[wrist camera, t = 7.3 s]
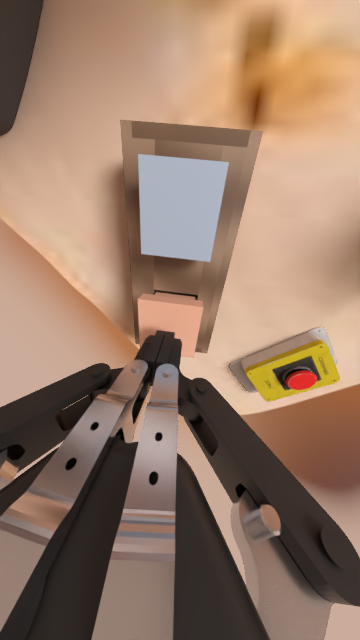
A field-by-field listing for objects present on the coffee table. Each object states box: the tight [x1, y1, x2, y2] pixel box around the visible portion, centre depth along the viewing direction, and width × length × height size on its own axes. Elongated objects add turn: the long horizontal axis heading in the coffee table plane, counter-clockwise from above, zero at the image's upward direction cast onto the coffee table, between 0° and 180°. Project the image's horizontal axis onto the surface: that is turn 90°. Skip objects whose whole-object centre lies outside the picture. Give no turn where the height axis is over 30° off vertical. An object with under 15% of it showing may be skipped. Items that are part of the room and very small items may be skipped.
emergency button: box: [229, 327, 340, 402], centre depth 22 cm, size 9×4×15 cm
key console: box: [120, 120, 263, 353], centre depth 16 cm, size 20×10×4 cm, turn 174°
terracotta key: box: [138, 292, 203, 358], centre depth 15 cm, size 6×6×4 cm
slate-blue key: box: [138, 154, 229, 262], centre depth 12 cm, size 6×6×4 cm
